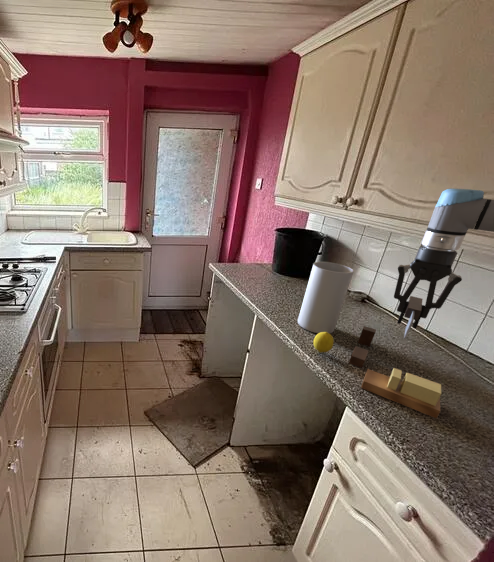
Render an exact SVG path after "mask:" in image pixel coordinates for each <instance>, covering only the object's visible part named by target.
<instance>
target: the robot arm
mask: <svg viewBox="0 0 494 562" xmlns="http://www.w3.org/2000/svg"><path fill="white" fill-rule="evenodd" d="M484 194H485V191H484V190H480V189H471V188H470V189H469V188H454V187H453V188H447V189H445V190H443V191H442V192H441V194H440V196H439V198H438V200H437V202H436V205H434V208H433V212H432V214H431V216H430V220H429V222H428V225H427V228H426V230H425V232H424V235H423V237H422V240H421V242H420V244H421V246H419V248H418V250H417V252H416V255H415V258H414V260H413V261H412V262H410V263H409V264H399V265H398V266H397V271H398V278H397V281H396V285H395V289H394V294H393V298H394V299H396V300H398V301H399V303H398V306H397V308H396V311H397V312H398V313H399V316H398V319H397V322H396V324H399V325H401V324H402V321H403V319H404V315H405V311H406V309H407V306H408V304H409V302H408V301H409V298H410V296H412V293H413V292H414V290H415V289H416V287H417V285H418V284H419V283H420V281H427V282H429V285H428V290H427V295H426V299H425V304H422V310H421V313H420V315H419V318H418V320H413V323H412V328H413V329H417V327H418V325H419V323H420V320H421V319H427V318H428V315H429V313H430V311H431V309H437V310H439V309H441V308H442V307H443V305H444V304H445V302H446V300H447V299H448V297H449V296H450V294H451V292H452V291H453V289H454V287H455V286H456V285H458V284H459V283H460V282H462V280H463V278H462V276H461V275H458V274H456V273H454V271H453V269H452V267H453V264H454V263H455V260H456V258H457V255H458V252H457V251H458V250H460V248H461V246H462V244H463V242H464V239H465V237H466V235H467V233H468V231H469V230H475V231H485V232H492V233H494V199H490V198H484V197H485V196H484ZM409 270H411V272H412V274H413V276H414V277H413V278H412V280H411V281H410V283H409V285H408V286H407V288H406V290H405V292H404V293H403V294H401V292H402V289H403V283H404V280H405V276H406V273H408V272H409ZM446 277H448V278H447V280H448V282H447V283H446V285H445V286H444V288H443V290H442V291H441V293H440V295H439V296H438V297H437V299H436V301H435V302H434V301H433V300H434V297H435V291H436V287H437V283H438V281H439V282H440V281H441V280H442V279H445V278H446Z"/></svg>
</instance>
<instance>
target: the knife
mask: <svg viewBox="0 0 494 562" xmlns="http://www.w3.org/2000/svg"><path fill="white" fill-rule="evenodd" d="M423 300H424V299H423V298H421V297H417V296H413V295H410V296H409V298H408V300H407V301H408V302H409V304H408V306H407V309H406V311H405V314H404V316H403V318H406V319H408V321H407V324H406V326H405V329H404V334H403V340H406V339H407V337H408V335H409V332H410V331H411V329H412V328H411V327H413V323H414V321H415V320H418V318H419V315H420V313H421V310H422V305H423Z"/></svg>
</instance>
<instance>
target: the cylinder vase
mask: <svg viewBox="0 0 494 562" xmlns="http://www.w3.org/2000/svg"><path fill="white" fill-rule="evenodd" d="M354 272H355V269H353V268H351V267H349V266H346V265H344V264H340V263H335V262H330V261H316V262H315V261H314V262H313V263H312V268H311V271H310V275H309V279H308V283H307V286H306V289H305V293H304V297H303V300H302V305H301V308H300V311H299V314H298V317H297V324H298V325H299V327H301V328H302V329H304V330H306V331H309V332H311V333H314V334H318V333H320V332H328V333H329V334H330V335H331V334H332V333H334V331H335V328H336V326H337V323H338V320H339V318H340V314H341V311H342V308H343V305H344V301H345V299H346V296H347V292H348V291H349V290H348V289H349V287H350V283H351V281H352V277H353V275H354Z"/></svg>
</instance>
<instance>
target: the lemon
mask: <svg viewBox="0 0 494 562" xmlns="http://www.w3.org/2000/svg"><path fill="white" fill-rule="evenodd" d="M334 342H335V341H334V337H333V336H332V334H331V333H330V334H329V333H328V332H320V333H316V335H315V337H314V338H313V342H312V343H313V347H314V349H315V350H316V351H317V352H319V354H320V353H321V354H322V353H327V352H330V351H331V350H332V349H333V346H334Z"/></svg>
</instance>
